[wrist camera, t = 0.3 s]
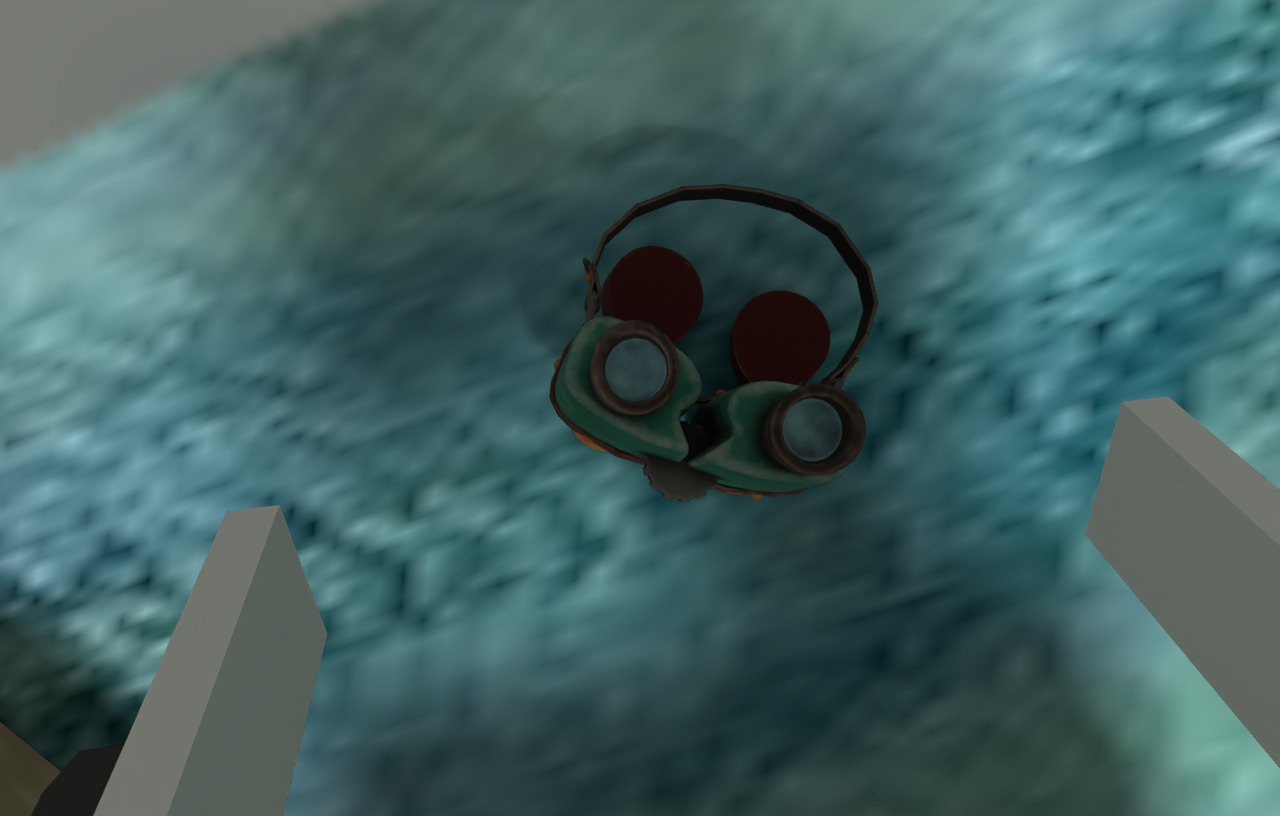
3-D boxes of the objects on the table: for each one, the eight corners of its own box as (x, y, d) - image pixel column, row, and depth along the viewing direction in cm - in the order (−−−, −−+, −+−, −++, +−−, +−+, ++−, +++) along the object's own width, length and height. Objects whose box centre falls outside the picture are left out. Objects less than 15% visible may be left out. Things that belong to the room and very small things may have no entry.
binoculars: (998, 157, 21) (884, 561, 20) (850, 272, 31) (770, 540, 30) (643, 28, 20) (501, 434, 19) (614, 189, 31) (521, 458, 29)
